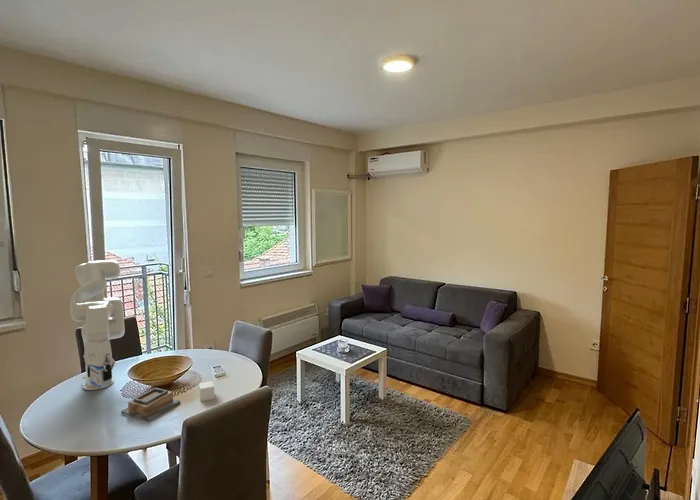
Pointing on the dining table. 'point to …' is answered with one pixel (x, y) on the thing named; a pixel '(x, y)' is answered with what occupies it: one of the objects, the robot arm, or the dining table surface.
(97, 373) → the medicine box
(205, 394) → the white cube
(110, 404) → the dining table surface
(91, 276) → the robot arm
